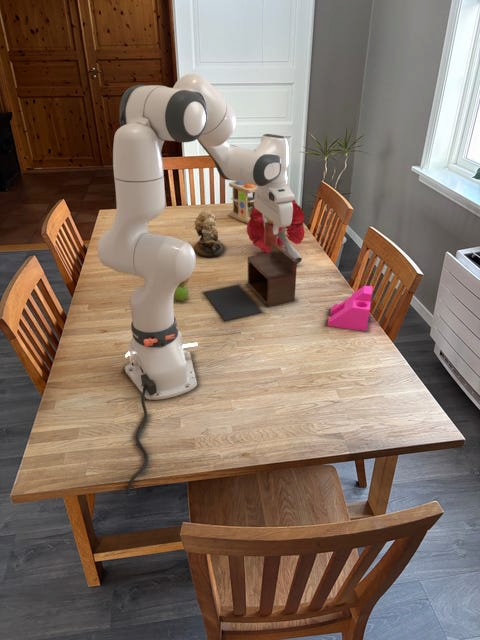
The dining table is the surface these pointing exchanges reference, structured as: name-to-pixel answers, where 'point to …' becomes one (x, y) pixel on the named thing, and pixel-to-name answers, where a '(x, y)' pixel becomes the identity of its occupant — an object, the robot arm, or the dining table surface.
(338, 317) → the bracket
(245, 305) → the felt mat
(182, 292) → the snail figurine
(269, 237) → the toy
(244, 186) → the pounding bench toy
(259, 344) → the dining table surface
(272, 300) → the open-top box
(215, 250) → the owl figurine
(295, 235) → the bouquet
